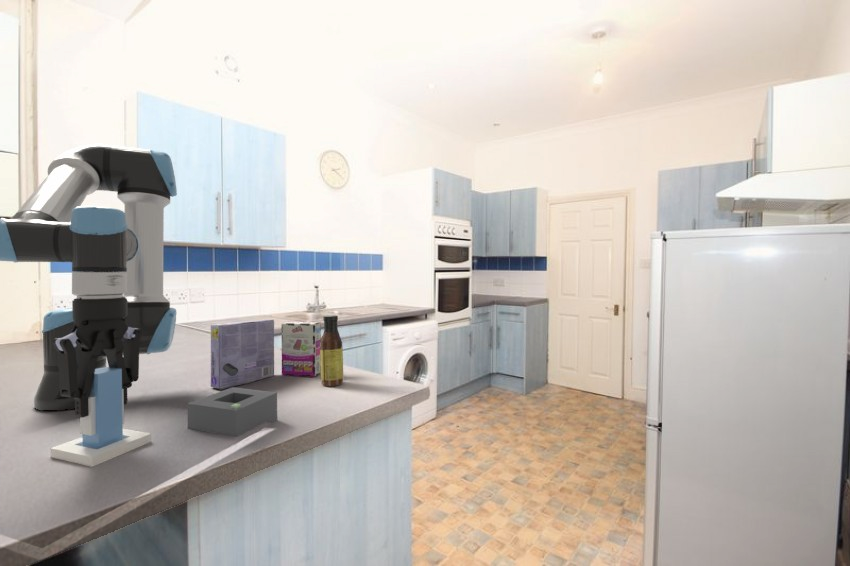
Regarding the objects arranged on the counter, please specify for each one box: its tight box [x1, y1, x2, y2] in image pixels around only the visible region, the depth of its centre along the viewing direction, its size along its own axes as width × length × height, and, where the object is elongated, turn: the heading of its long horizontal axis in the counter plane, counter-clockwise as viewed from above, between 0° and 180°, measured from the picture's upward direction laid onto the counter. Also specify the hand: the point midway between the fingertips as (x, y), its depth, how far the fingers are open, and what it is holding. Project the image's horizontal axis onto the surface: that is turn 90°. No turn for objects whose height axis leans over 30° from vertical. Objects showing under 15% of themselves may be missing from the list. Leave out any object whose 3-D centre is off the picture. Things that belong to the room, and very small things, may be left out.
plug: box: [81, 366, 124, 449], centre depth 71 cm, size 4×4×14 cm
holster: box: [50, 428, 152, 467], centre depth 72 cm, size 10×10×2 cm
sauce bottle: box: [320, 314, 344, 387], centre depth 116 cm, size 7×6×20 cm
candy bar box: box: [281, 321, 322, 378], centre depth 127 cm, size 11×5×16 cm, turn 81°
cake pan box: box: [210, 319, 275, 391], centre depth 118 cm, size 19×5×18 cm, turn 150°
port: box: [187, 386, 278, 437], centre depth 85 cm, size 12×12×6 cm
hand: (102, 428), depth 72 cm, fingers closed on plug, 4 cm apart
